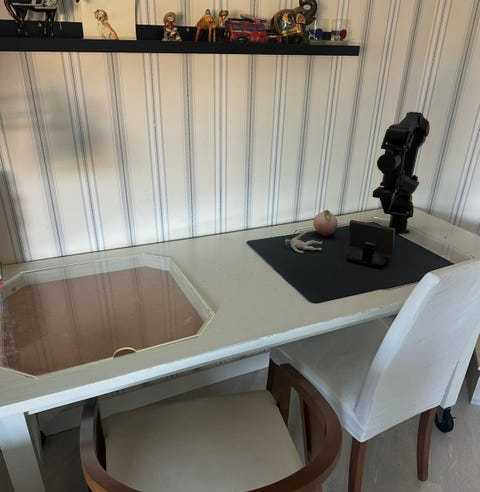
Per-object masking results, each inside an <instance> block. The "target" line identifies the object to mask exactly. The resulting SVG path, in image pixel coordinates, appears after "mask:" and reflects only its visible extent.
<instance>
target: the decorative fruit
mask: <svg viewBox="0 0 480 492" xmlns="http://www.w3.org/2000/svg"><path fill="white" fill-rule="evenodd" d="M338 224H339V222H338V219H337V217H336V216H335V215H334V214H333V212H331V211H330V210H329V209H324V210H323V211H322V212H319V213H317V214H316V215H315V217H314V218H313V227H314V230H315V231H316V232H318V233H319V234H320V235H322V236H324V237H327V236H329V235H332V234H333V233H335V231H336V230H337V228H338V226H339V225H338Z"/></svg>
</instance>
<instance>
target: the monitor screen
mask: <svg viewBox="0 0 480 492" xmlns="http://www.w3.org/2000/svg"><path fill="white" fill-rule="evenodd" d="M395 235H396V234H395V228H391V227H389V226H385V225H381V224H375V223H370V222H365V221H359V220H354V219H350V221H349V247H352V248H357V249H362V250H363V247H364V246H365V245H367V246H371V247H375V250H374V253H379V254H384V255H388V256H393V255H394V249H395Z"/></svg>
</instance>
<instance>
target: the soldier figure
mask: <svg viewBox="0 0 480 492" xmlns="http://www.w3.org/2000/svg"><path fill="white" fill-rule="evenodd" d="M305 234H307V232H304V231H303V232H302V233H300V234H299V235H297V236H295V237H293V238H292V239H289V238H285V241H284V243H285V246H288V245H289V244H290V247H291V248H292V249H293V251H294V252H296V253H299V254H304V251H319V252H321V251H323V248H322V247H314V246H311V245H323V240H322V241H316V240H314V239H312V240H311V239H310V240H307V241H306V242H305V241H302V240H301V239H300V238H301V237H302V236H303V235H305ZM299 249H300V250H299Z"/></svg>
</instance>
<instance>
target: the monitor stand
mask: <svg viewBox="0 0 480 492" xmlns="http://www.w3.org/2000/svg"><path fill="white" fill-rule="evenodd" d="M374 250H375V247H371V246H367V245H365V246H364V247H363V249H362V251H361V250H357V249H356V250H355V251H354V252H352V253H351V254H350V256H348V257H347V259H346V260H347V263H351V264H356V265H359V266H364V267H367V268H373V269H375V270H376V269H377V270H382V269H383V268H385V266H386V264H387V263H388V262H389V259H390V257H389V256H384V255H380V254H376V253H375V252H374Z"/></svg>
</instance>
